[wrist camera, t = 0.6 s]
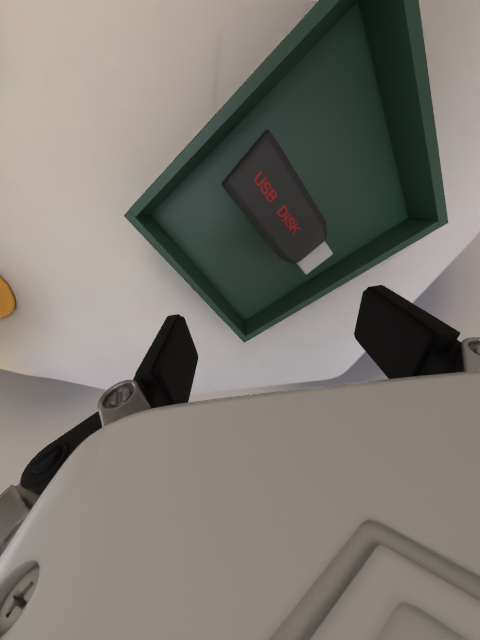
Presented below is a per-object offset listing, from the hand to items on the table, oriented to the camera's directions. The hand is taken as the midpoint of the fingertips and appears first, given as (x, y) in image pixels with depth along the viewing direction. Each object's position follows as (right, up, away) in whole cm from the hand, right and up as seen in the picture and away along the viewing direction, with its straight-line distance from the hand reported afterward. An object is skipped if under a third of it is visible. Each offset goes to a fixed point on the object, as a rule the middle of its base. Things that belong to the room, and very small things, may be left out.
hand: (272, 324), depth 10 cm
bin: (+3, +11, +10) cm, 15 cm away
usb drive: (+3, +11, +9) cm, 15 cm away
